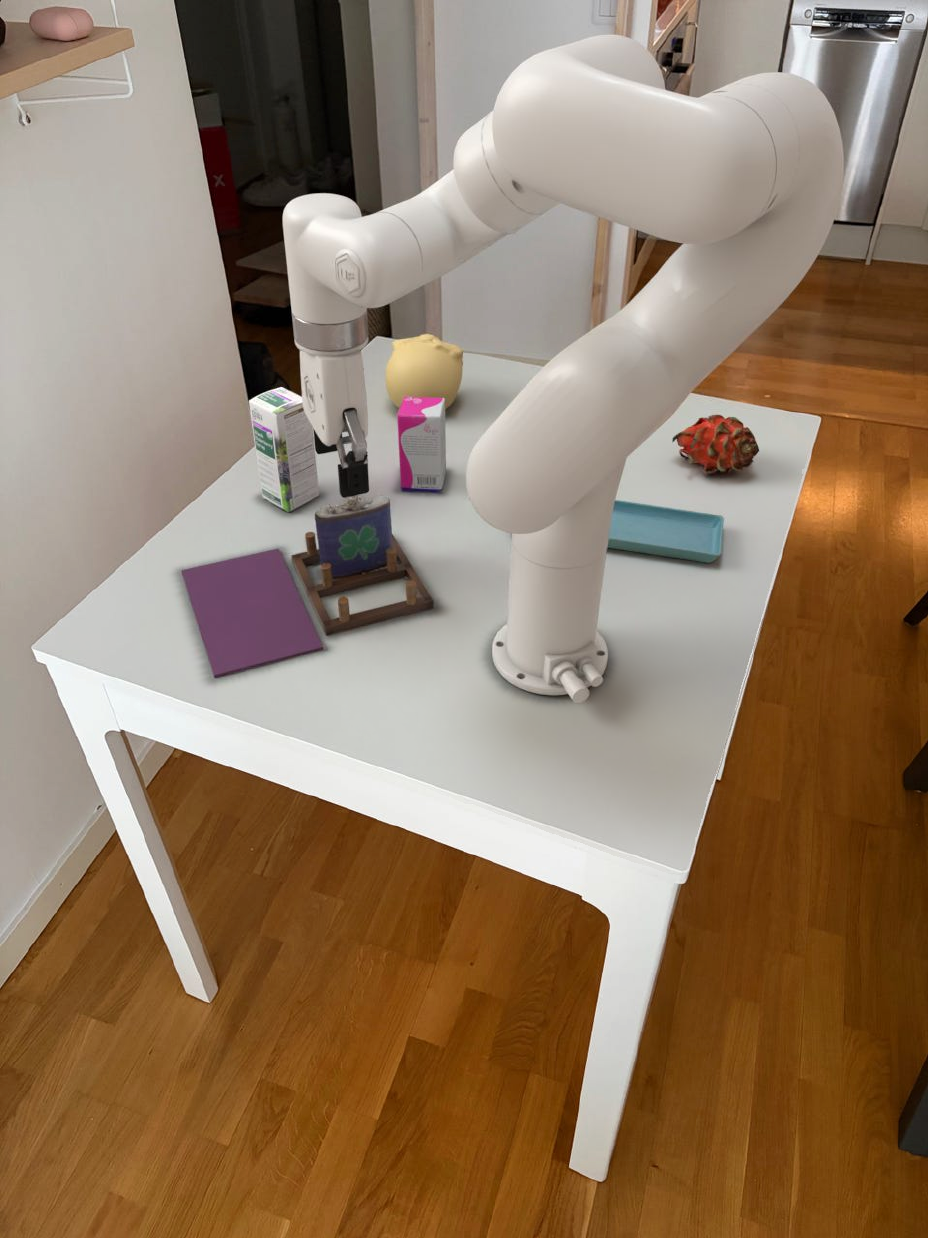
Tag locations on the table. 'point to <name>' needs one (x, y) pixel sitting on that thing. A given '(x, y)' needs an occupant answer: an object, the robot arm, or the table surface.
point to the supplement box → (422, 444)
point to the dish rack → (358, 581)
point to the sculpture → (424, 369)
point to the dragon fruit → (718, 444)
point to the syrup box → (284, 449)
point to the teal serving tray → (666, 531)
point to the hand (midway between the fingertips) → (341, 471)
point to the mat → (249, 612)
